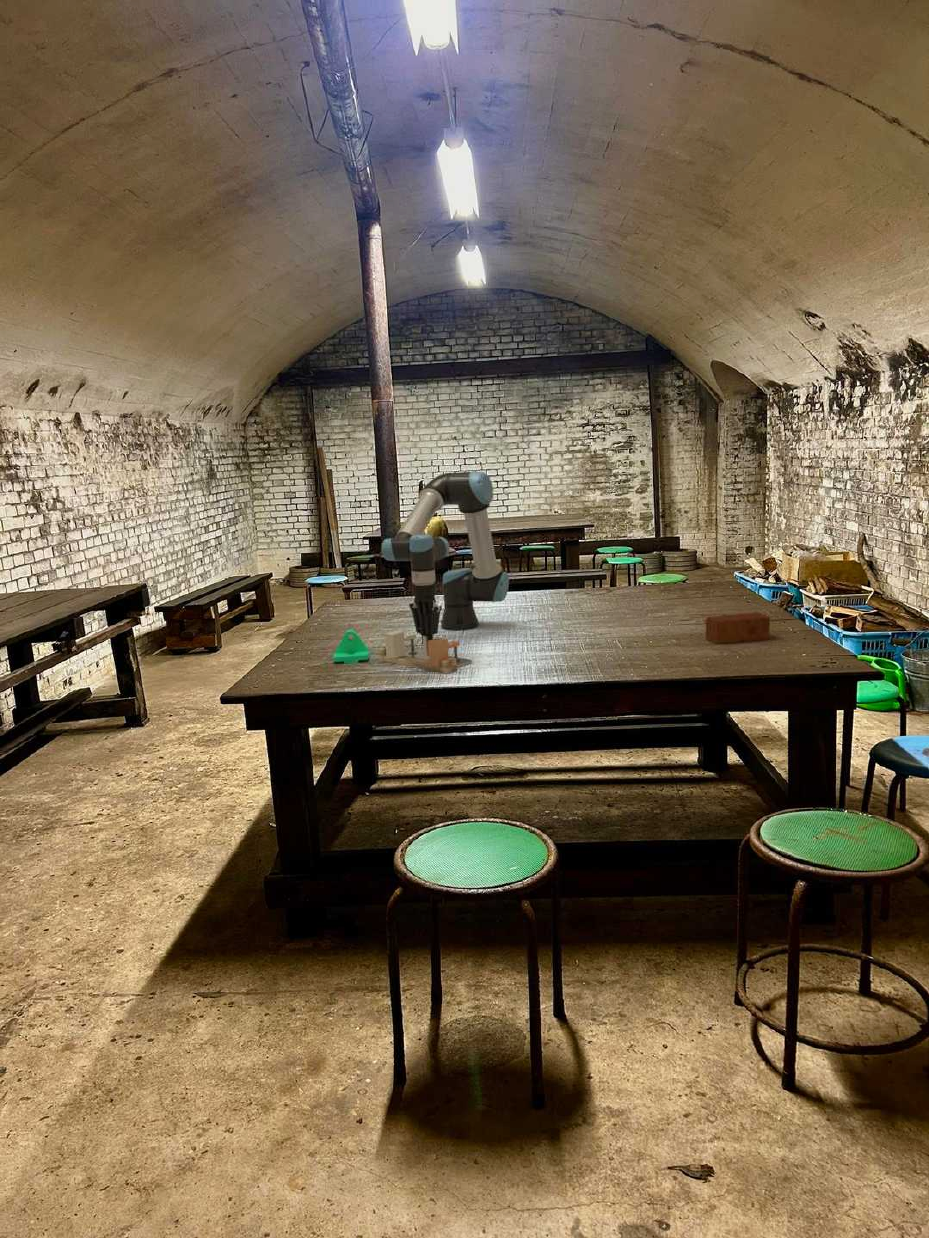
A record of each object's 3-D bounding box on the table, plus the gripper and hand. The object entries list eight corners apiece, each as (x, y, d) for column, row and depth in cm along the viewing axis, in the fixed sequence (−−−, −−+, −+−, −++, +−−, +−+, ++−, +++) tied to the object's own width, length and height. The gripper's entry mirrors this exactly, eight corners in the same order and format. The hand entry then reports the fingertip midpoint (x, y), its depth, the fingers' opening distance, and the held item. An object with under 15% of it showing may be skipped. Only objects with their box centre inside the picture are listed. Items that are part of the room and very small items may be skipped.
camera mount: (333, 664, 263) (331, 635, 261) (335, 659, 271) (333, 630, 269) (368, 662, 264) (366, 633, 262) (369, 657, 271) (367, 628, 269)
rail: (390, 657, 268) (389, 646, 268) (456, 670, 247) (456, 658, 247) (379, 660, 265) (378, 649, 264) (446, 674, 244) (445, 662, 243)
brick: (770, 616, 263) (770, 640, 265) (757, 611, 272) (757, 634, 274) (717, 621, 261) (716, 645, 263) (705, 616, 269) (705, 639, 271)
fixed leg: (410, 650, 270) (409, 627, 269) (418, 651, 268) (417, 628, 266) (386, 657, 262) (384, 633, 260) (394, 659, 259) (392, 634, 258)
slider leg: (453, 658, 257) (452, 633, 255) (462, 659, 254) (461, 635, 252) (429, 666, 248) (427, 640, 247) (438, 667, 246) (436, 642, 244)
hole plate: (413, 652, 274) (413, 649, 274) (472, 663, 256) (471, 659, 255) (396, 657, 268) (396, 654, 268) (455, 668, 250) (455, 665, 250)
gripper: (401, 583, 248) (406, 654, 253) (430, 586, 239) (434, 660, 244) (418, 580, 254) (422, 649, 258) (446, 583, 245) (450, 654, 250)
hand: (428, 654), depth 251 cm, fingers closed
